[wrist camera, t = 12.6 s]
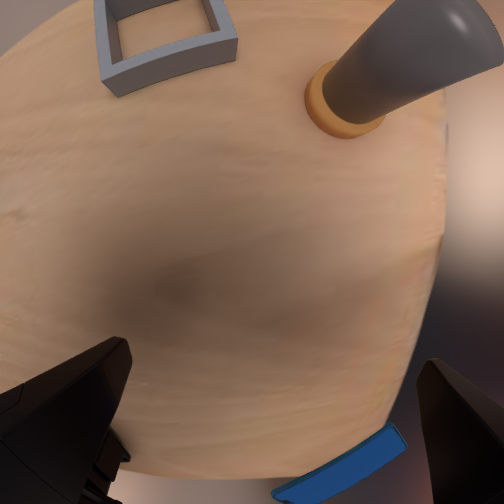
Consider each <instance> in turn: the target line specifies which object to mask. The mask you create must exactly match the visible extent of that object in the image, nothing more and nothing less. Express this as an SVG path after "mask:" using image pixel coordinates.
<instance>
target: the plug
mask: <svg viewBox="0 0 504 504" xmlns="http://www.w3.org/2000/svg"><path fill="white" fill-rule="evenodd" d="M503 62H504V47H503V43H502V40H501V38H500V36H499V33H498V31H497V29H496V27H495V25H494V24H493V22H492V20H491V19H490V17H489V16H488V15H487V13H486V12H485V10H484V9H483V8H482V6H481V5H480V4H479V3H478V2H477V1H476V0H395V1H394V2H393V3H392V4H391V5H390V6H389V7H388V8H387V9H386V10H385V11H384V12H383V13H382V14H381V15H380V17H379V18H378V19H377V20H376V21H375V22H374V23H373V24H372V25H371V26H370V27H369V28H368V29H367V30H366V31H365V32H364V33H363V34H362V35H361V36H360V37H359V39H358V40H357V41H356V42H355V43H354V44H353V45H352V46H351V47H350V48H349V49H348V50H347V52H346V53H345V54H344V55H343V56H342V57H341V58H340V59H339V60H337V61H332V62H329V63H327V64H325V65H324V66H322V67H321V68H320V69H319V71H318V72H317V73H316V75H315V76H314V77H313V78H312V80H311V81H310V82H309V84H308V86H307V88H306V91H305V105H306V108H307V111H308V113H309V115H310V117H311V119H312V120H313V121H314V123H315V124H316V125H317V126H318V127H319V128H320V129H322V130H323V131H324V132H326V133H328V134H329V135H332V136H334V137H338V138H343V139H349V138H354V137H357V136H360V135H362V134H364V133H366V132H369V131H371V130H373V129H375V128H376V127H378V126H379V125H380V124H381V123H382V121H383V119H384V118H385V115H386V114H387V113H389V112H391V111H394V110H396V109H398V108H400V107H402V106H404V105H406V104H408V103H411V102H413V101H415V100H417V99H419V98H422V97H424V96H426V95H428V94H431V93H433V92H435V91H437V90H440V89H442V88H444V87H447V86H449V85H451V84H454V83H456V82H459V81H461V80H464V79H466V78H469V77H471V76H474V75H476V74H478V73H481V72H484V71H486V70H489V69H492V68H495V67H497V66H500V65H502V64H503Z"/></svg>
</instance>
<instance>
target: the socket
mask: <svg viewBox="0 0 504 504" xmlns="http://www.w3.org/2000/svg"><path fill="white" fill-rule="evenodd" d="M173 1H176V0H94V20H95V33H96V44H97V54H98V62H99V70H100V77H101V82H102V83H103V84H104V85H105V86H106V87H107V88H108V89H109V90H110V91H111V92H112V93H113V94H114V95H115V96H116V97H117V98H118V97H121V96H123V95H125V94H128V93H130V92H133V91H135V90H138V89H140V88H143V87H146V86H148V85H151V84H154V83H157V82H160V81H162V80H165V79H168V78H172V77H175V76H178V75H181V74H184V73H188V72H191V71H195V70H198V69H202V68H206V67H210V66H213V65H218V64H222V63H226V62H231V61H235V60H236V52H237V43H238V36H237V33H236V30H235V28H234V25H233V23H232V20H231V18H230V15H229V13H228V10H227V8H226V5H225V3H224V1H223V0H202V3H203V6H204V8H205V11H206V14H207V17H208V20H209V22H210V25H211V28H212V31H213V32H211V33H207V34H203V35H199V36H195V37H191V38H187V39H184V40H180V41H177V42H173V43H170V44H167V45H164V46H161V47H158V48H155V49H152V50H149V51H146V52H143V53H141V54H138V55H135V56H133V57H130V58H128V59H125V60H122V54H121V48H120V41H119V35H118V28H117V20H120V19H122V18H125V17H127V16H130V15H133V14H135V13H138V12H141V11H144V10H147V9H150V8H153V7H156V6H159V5H162V4H166V3H169V2H173Z"/></svg>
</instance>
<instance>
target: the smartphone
mask: <svg viewBox="0 0 504 504" xmlns="http://www.w3.org/2000/svg"><path fill="white" fill-rule="evenodd" d="M406 448H407V444H406V442H405V440H404V439H403V437H402V436H401V434H400V433H399V431H398V429H397V428H396V427H395V425H394V424H393V423H391V422H389V423H386V424H384V426H383V428H382V429H380V430H379V431H378V432H376V433H375V434H373V435H372V436H370V437H369V438H367V439H366V440H364V441H363V442H361V443H360V444H358V445H357V446H355V447H353V448H352V449H350V450H349V451H347V452H345V453H344V454H342V455H340V456H339V457H337V458H335V459H333V460H332V461H330V462H328V463H326V464H325V465H323V466H321V467H319V468H317V469H315V470H313V471H311V472H309V473H307V474H305V475H303V476H301V477H299V478H297V479H295V480H293V481H291V482H289V483H286V484H284V485H282V486H280V487H278V488H276V489H274V490H272V492H271V496H272V498H273V499H274V500H276V501H278V502H281V503H283V504H319V503H321V502H323V501H325V500H327V499H329V498H331V497H333V496H335V495H337V494H339V493H341V492H342V491H344V490H346V489H348V488H349V487H351V486H353V485H355V484H356V483H358V482H360V481H361V480H363V479H365V478H366V477H368V476H369V475H371V474H372V473H374V472H376V471H377V470H379V469H380V468H382V467H383V466H385V465H386V464H387V463H389V462H390V461H392V460H393V459H394V458H396V457H397V456H399V455H400V454H401V453H403V452H404V451H405V450H406Z"/></svg>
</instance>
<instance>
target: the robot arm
mask: <svg viewBox="0 0 504 504" xmlns="http://www.w3.org/2000/svg"><path fill="white" fill-rule="evenodd" d="M131 367H132V356H131V352H130V349H129V345H128V342H127V340H126V339H124V338H121V337H116V336H114V337H111V338H109V339H107V340H106V341H104V342H102V343H100V344H98V345H96V346H94V347H92V348H90V349H88V350H86V351H85V352H83V353H81V354H79V355H77V356H75V357H73V358H71V359H69V360H67V361H65V362H63V363H61V364H59V365H58V366H56V367H54V368H52V369H50V370H48V371H46V372H44V373H42V374H40V375H38V376H36V377H34V378H32V379H30V380H28V381H26V382H25V383H22V384H20V385H18V386H16V387H14V388H12V389H10V390H8V391H6V392H4V393H2V394H0V504H122V502H120V501H118V500H114V499H112V498H110V497H108V496H107V494H108V490H109V487H110V484H111V482H114V481H115V478H116V474H117V471H118V468H119V465H120V462H130V459H131V457H130V456H129V455H128V453H127V452H126V451H125V450H124V448H123V447H122V446H121V445H120V443H119V442H118V441H117V440H116V438H115V437H114V436H113V434H112V433H111V432H110V430H109V429H108V428H109V426H110V423H111V421H112V419H113V417H114V415H115V412H116V410H117V408H118V405H119V403H120V400H121V397H122V394H123V391H124V388H125V385H126V382H127V379H128V376H129V373H130V370H131ZM416 388H417V395H418V402H419V411H420V419H421V427H422V432H423V437H424V442H425V447H426V452H427V458H428V464H429V471H430V478H431V485H432V494H433V503H434V504H504V408H503V407H502V406H500V405H499V404H498V403H496V402H495V401H494V400H493V399H491V398H490V397H489V396H488V395H486V394H485V393H484V392H482V391H481V390H480V389H478V388H477V387H476V386H474V385H473V384H472V383H471V382H469V381H468V380H467V379H465V378H464V377H463V376H461V375H460V374H459V373H457V372H456V371H455V370H454V369H452V368H451V367H450V366H448V365H447V364H445V363H444V362H443V361H441V360H440V359H438V358H436V359H428V360H427V361H426V362H425V363H424V365H423V367H422V369H421V371H420V373H419V375H418V377H417V380H416Z"/></svg>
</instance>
